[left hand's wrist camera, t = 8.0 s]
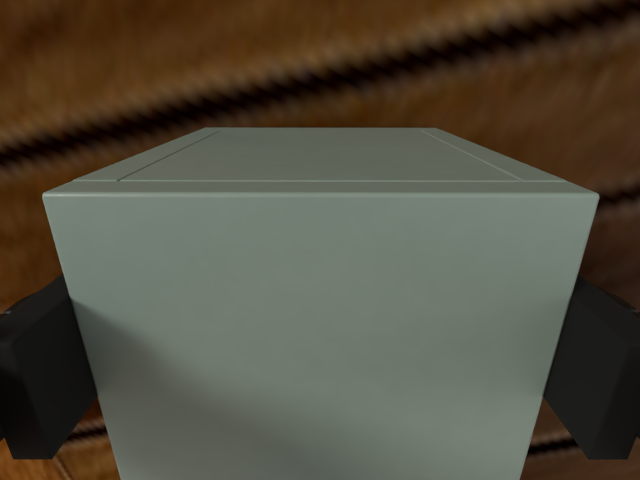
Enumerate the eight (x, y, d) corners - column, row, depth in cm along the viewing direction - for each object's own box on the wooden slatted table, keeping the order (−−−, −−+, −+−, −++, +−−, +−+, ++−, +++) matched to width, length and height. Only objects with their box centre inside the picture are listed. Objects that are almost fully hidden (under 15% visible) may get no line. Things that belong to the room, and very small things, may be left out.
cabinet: (406, 402, 24) (472, 649, 13) (234, 401, 24) (166, 649, 13) (437, 127, 17) (603, 193, 7) (204, 127, 17) (38, 193, 7)
